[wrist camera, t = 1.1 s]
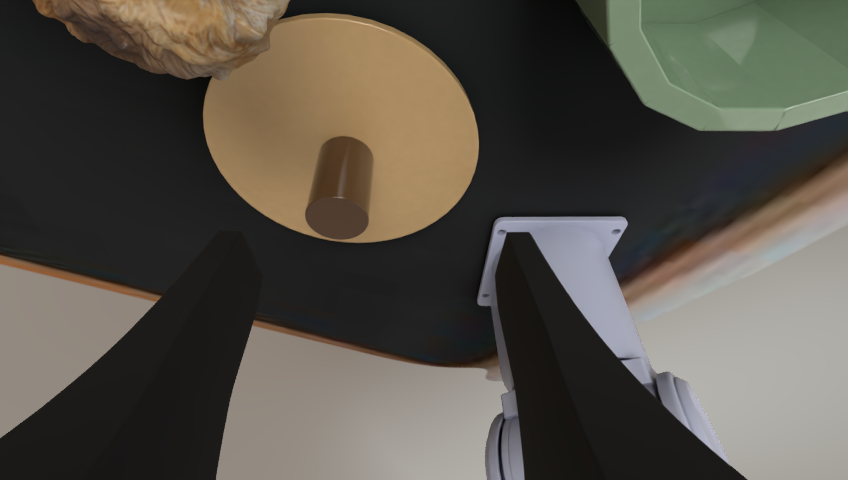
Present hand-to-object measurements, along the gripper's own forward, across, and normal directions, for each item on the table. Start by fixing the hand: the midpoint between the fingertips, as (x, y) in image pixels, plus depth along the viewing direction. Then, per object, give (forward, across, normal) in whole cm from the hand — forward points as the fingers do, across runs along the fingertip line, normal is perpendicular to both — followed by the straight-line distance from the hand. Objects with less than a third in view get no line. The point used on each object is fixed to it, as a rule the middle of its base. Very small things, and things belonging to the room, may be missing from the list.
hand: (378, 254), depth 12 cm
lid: (+9, +2, +3) cm, 10 cm away
